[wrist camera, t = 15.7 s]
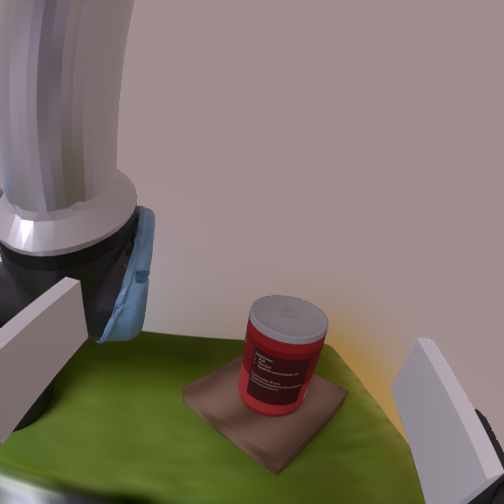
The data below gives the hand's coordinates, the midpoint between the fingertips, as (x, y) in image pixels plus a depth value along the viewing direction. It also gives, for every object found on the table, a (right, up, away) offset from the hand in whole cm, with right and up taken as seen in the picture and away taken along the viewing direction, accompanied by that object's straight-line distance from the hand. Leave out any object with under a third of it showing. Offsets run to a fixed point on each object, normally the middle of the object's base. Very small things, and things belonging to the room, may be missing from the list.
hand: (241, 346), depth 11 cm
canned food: (+3, -13, +22) cm, 25 cm away
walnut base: (+2, -15, +23) cm, 27 cm away
